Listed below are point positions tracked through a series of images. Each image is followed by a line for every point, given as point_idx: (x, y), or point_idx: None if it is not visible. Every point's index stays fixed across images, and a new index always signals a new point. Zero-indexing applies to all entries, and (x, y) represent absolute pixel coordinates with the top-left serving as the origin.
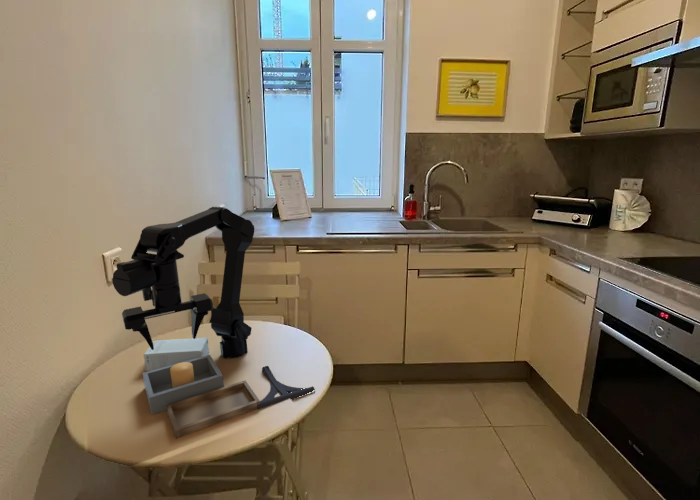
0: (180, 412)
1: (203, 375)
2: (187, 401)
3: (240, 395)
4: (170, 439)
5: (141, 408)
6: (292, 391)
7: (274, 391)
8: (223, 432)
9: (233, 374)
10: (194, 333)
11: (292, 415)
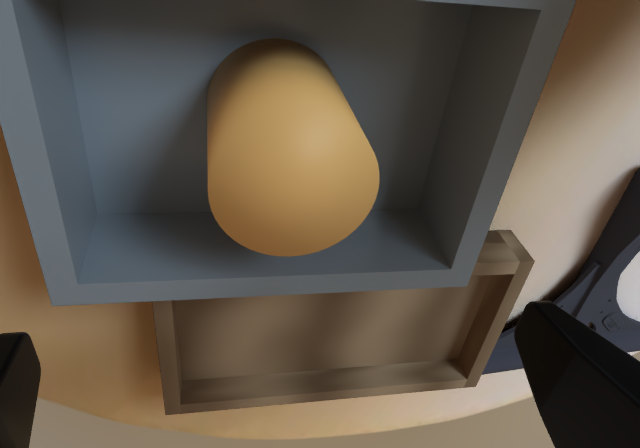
0: None
1: (431, 8)
2: None
3: (459, 291)
4: (150, 360)
5: None
6: (597, 328)
7: None
8: None
9: (563, 74)
10: (554, 429)
11: (506, 396)
